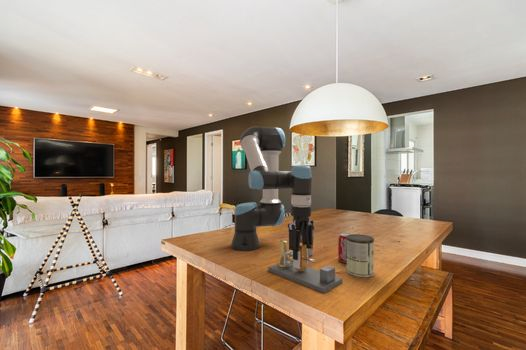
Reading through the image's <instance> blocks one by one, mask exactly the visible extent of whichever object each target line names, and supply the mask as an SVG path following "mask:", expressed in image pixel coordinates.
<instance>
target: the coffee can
mask: <svg viewBox="0 0 526 350" xmlns="http://www.w3.org/2000/svg"><path fill="white" fill-rule="evenodd" d="M346 238H347V263H346V272H347V273H348V274H349V275H352V276H355V277H359V278H371V277H373V276H374V274H375V272H374V253H375V252H374V247H375V246H374V244H375V243H374V242H375V238H374V237H373V236H370V235H367V234H361V233H359V234H358V233H356V234H352V235H347V237H346Z"/></svg>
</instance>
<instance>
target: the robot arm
mask: <svg viewBox="0 0 526 350" xmlns="http://www.w3.org/2000/svg"><path fill="white" fill-rule="evenodd" d="M285 135H286V134H285V132H284V130H283V129H282V128H280V127H276V126H273V127H272V126H251V127H249V128H247V129H245V130H244V131H243V133H242V134H241V135H240V140H239V144H240V147H241V149H242V151H244V152H245V157H246V160H247V163H248V167H249V169H250V171H249V172H248V176H247V177H248V181H247V182H248V186H249V188H250V189H252V190H262V198H261V200H260V201H259V204H257V202H256V201H254V202H253V201H251V202H250V201H249V202H244V203H240V204H237V205H236V206H235V207H234V234H233V236H232V241H231V243H230V244H231V248H232V249H233V250H235V251H244V252H245V251H246V252H247V251H254V250H258V249H259V248H260V244H261V243H260V240H259V237H258V233H257V228H258V227H275V226H276V227H277V226H281V225H282V223H283V222H284V219H285V214H286V213H285V211H286V210H285V206H284V204H282V201H281V200H280V199H279V190H291V202H290V203H291V216H292V217H293V219H292V222H291V223H287V228H288V250H290V251H293V267H295V268H297V269H300V251H299V246H300V239H301V235H302V242H303V244H306V245H307V253H306V257H307V258H309V256H308V255H309V248H311V246H310V245H312V235H313V224H314V220H311V219H310V217H311V216H312V207H311V206H312V177H313V175H312V168H311V166H309V165H293V166H292V168H291V170H279V168H280V167H279V164H280V161H279V159H280V157H279V156H280V154H282V150H284V149H285V146H286V136H285ZM298 230H299V231H298ZM309 241H310V242H309ZM308 266H309V261H307V260H306V267H308Z"/></svg>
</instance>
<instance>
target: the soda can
mask: <svg viewBox="0 0 526 350" xmlns="http://www.w3.org/2000/svg"><path fill="white" fill-rule="evenodd" d="M347 235H352V234H351V233H348V232H342V233H339V236H338V240H337V257H338V260H339V261H340V262H342V263H345V264H347V238H346V237H347Z"/></svg>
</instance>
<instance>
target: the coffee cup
mask: <svg viewBox="0 0 526 350" xmlns="http://www.w3.org/2000/svg"><path fill="white" fill-rule="evenodd" d="M297 231H299V230H297ZM314 233H315V226H314V223H313V235H312V245H310V246H311V248H309V255H308V257H311V256H312V255H313V250H314V240H315V239H314V237H315V234H314ZM309 242H310V241H309ZM300 243H302V244H303V242H302V235H301V239H300Z"/></svg>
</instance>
